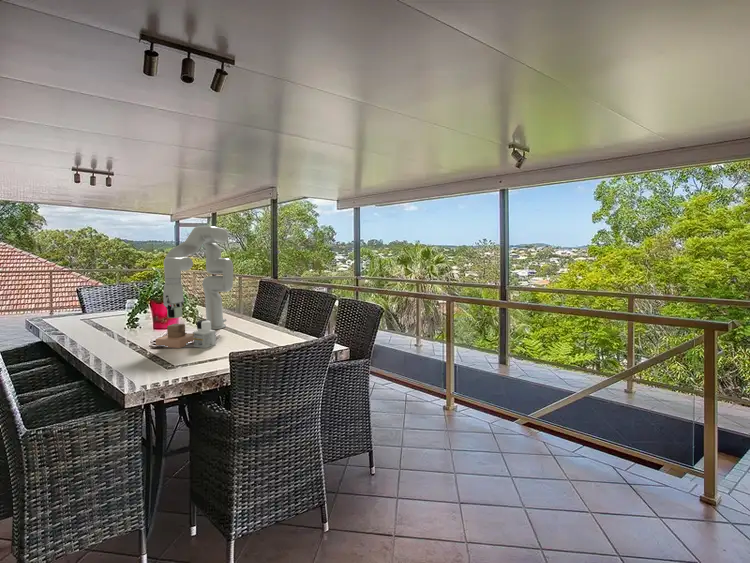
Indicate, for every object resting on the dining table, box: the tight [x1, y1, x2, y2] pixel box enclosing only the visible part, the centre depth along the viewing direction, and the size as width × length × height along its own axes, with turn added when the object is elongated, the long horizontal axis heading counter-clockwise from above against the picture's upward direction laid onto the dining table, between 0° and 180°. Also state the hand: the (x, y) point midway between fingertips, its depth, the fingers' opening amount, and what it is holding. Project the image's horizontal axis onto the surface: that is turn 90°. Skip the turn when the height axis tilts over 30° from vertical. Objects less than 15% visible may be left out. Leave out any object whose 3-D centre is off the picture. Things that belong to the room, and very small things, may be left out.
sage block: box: [166, 306, 183, 319], centre depth 227 cm, size 5×5×5 cm
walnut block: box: [166, 323, 186, 338], centre depth 228 cm, size 6×6×6 cm
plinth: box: [155, 332, 193, 349], centre depth 228 cm, size 14×14×4 cm
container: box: [192, 319, 217, 349], centre depth 223 cm, size 8×8×13 cm
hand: (175, 316), depth 227 cm, fingers closed on sage block, 5 cm apart
